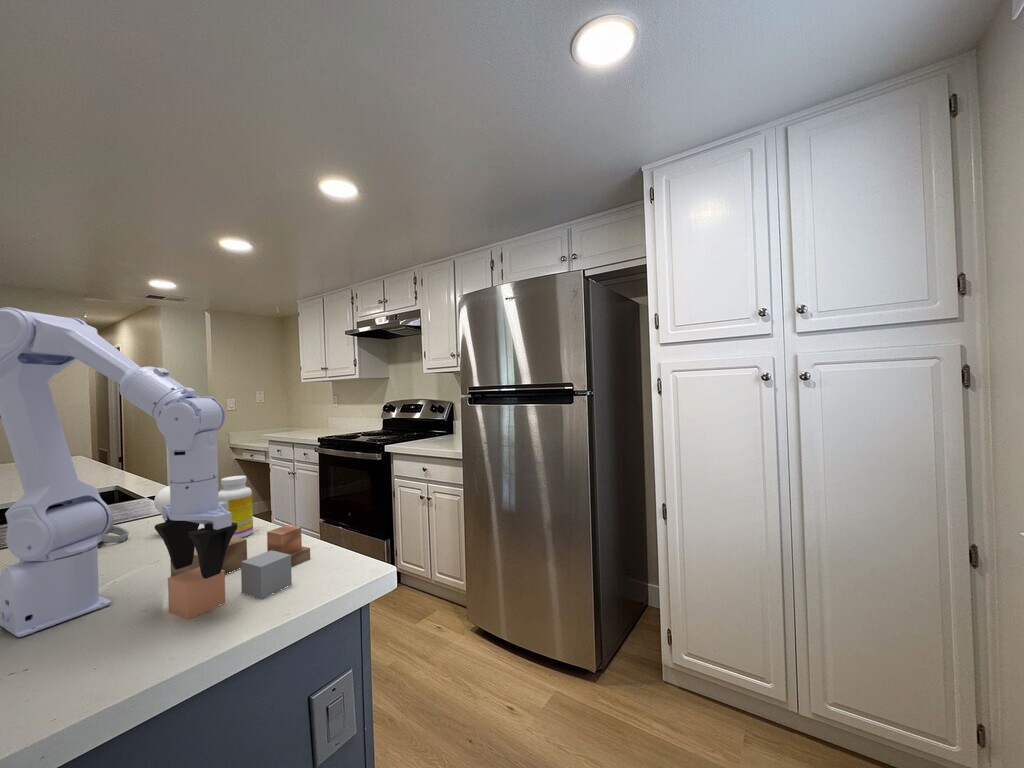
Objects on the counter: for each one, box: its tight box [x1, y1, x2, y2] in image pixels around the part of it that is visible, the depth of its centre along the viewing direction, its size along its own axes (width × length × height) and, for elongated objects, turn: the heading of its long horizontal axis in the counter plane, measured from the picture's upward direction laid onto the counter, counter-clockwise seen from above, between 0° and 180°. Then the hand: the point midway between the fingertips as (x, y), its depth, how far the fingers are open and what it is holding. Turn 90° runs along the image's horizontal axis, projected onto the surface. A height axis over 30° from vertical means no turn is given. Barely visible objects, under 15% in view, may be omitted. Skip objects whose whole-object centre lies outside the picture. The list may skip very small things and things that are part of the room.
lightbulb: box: [153, 485, 170, 522], centre depth 95 cm, size 6×6×11 cm
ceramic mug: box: [101, 514, 130, 544], centre depth 90 cm, size 11×8×8 cm
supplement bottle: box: [218, 475, 254, 539], centre depth 93 cm, size 7×7×13 cm
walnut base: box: [169, 537, 248, 577], centre depth 75 cm, size 8×8×5 cm
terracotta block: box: [167, 567, 226, 621], centre depth 62 cm, size 5×5×5 cm
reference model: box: [261, 524, 311, 567], centre depth 78 cm, size 6×6×6 cm
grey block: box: [240, 550, 293, 600], centre depth 68 cm, size 5×5×5 cm
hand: (197, 571), depth 62 cm, fingers open, 7 cm apart
